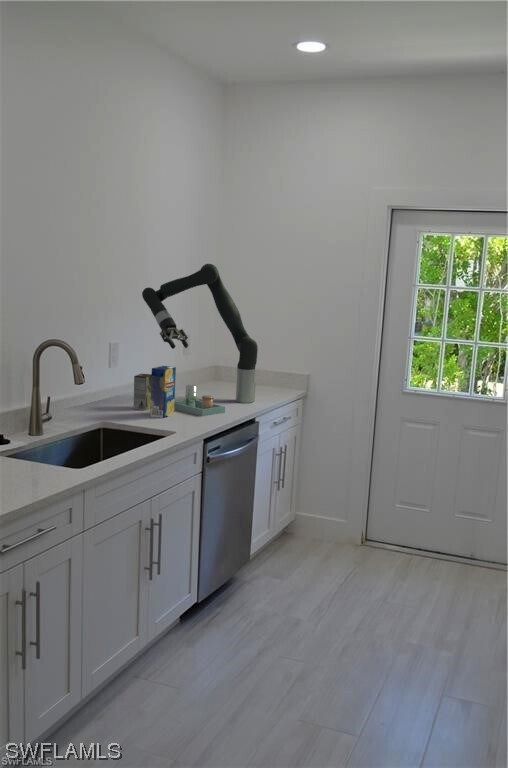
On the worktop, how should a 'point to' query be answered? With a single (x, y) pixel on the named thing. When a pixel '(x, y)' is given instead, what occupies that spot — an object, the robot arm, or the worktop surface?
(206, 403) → the pestle
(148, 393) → the coffee box
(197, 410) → the tray
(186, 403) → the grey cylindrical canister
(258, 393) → the worktop surface
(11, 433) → the worktop surface
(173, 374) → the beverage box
